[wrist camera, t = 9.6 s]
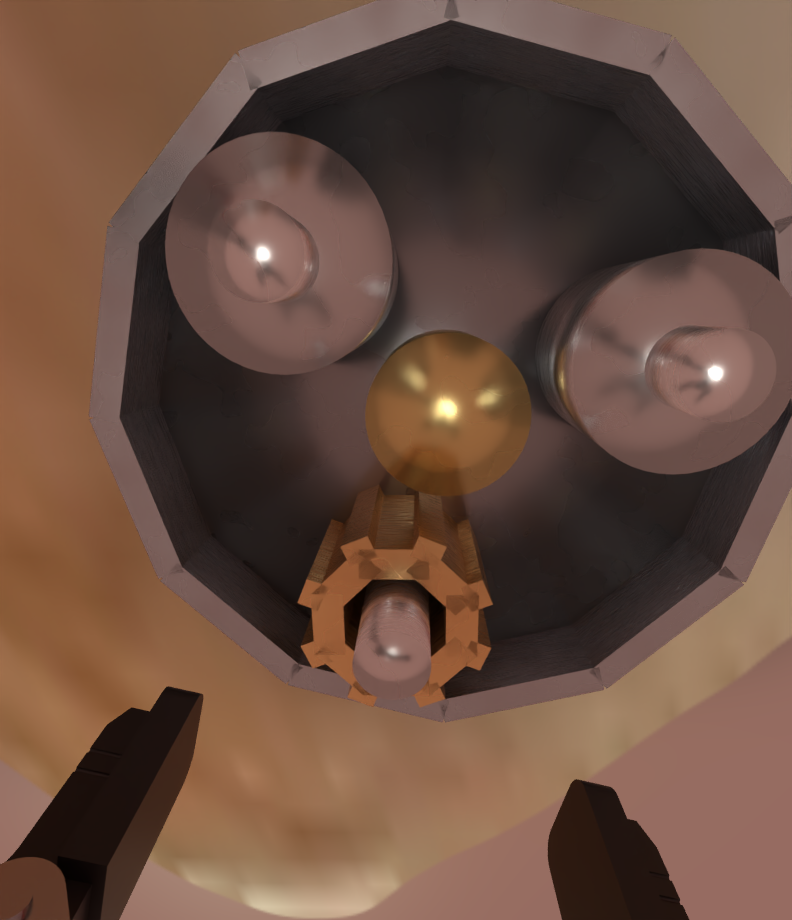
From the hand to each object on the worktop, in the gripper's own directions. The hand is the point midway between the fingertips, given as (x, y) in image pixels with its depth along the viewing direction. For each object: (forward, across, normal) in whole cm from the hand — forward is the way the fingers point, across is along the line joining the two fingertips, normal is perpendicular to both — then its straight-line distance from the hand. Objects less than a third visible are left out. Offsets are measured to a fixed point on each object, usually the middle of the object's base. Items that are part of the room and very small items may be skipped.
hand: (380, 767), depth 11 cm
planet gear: (+11, 0, 0) cm, 11 cm away
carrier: (+12, 0, -6) cm, 13 cm away
